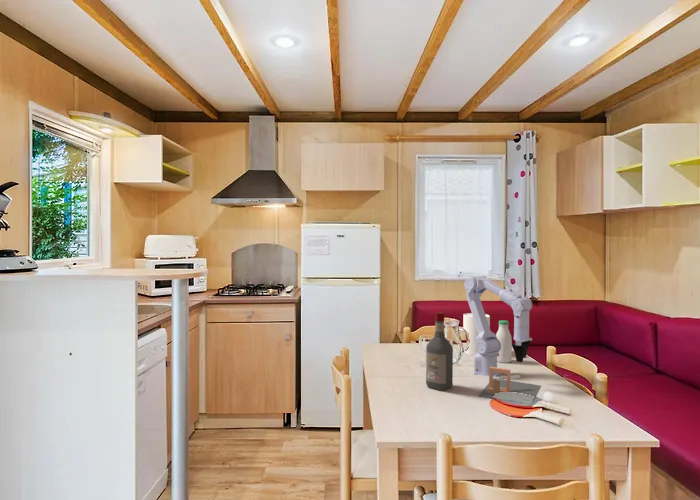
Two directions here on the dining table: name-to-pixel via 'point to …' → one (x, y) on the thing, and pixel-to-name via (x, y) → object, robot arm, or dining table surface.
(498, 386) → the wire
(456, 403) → the dining table surface
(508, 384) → the orange rectangular frame
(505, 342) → the milk bottle
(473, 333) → the canister
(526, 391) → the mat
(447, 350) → the liquor
